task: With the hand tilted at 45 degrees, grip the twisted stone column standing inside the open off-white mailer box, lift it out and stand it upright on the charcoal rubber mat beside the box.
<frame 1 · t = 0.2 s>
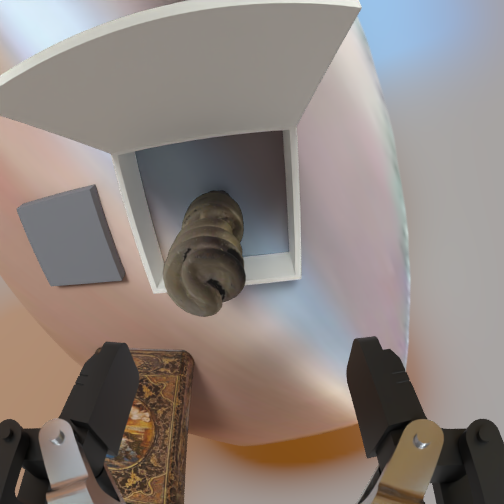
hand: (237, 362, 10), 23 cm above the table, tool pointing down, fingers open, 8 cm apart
twisted stone column: (215, 199, 31), resting in mailer
book: (145, 358, 45), on the table
mailer: (215, 199, 31), on the table
mat: (70, 238, 32), on the table
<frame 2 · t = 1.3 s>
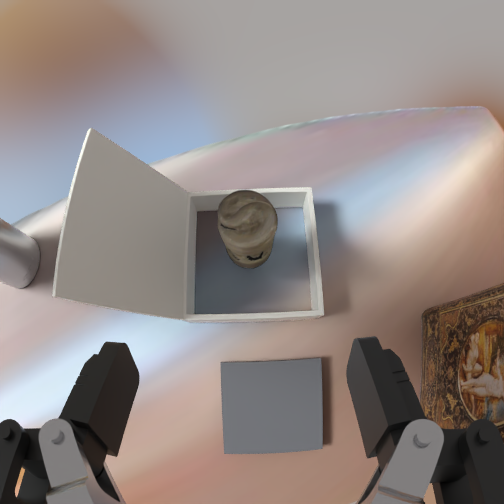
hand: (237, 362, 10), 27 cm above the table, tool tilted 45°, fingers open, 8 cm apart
twisted stone column: (251, 260, 39), resting in mailer
book: (435, 363, 34), on the table
mailer: (251, 260, 39), on the table
mat: (272, 406, 33), on the table
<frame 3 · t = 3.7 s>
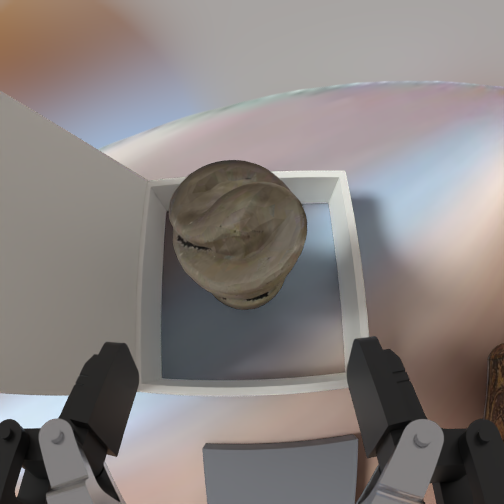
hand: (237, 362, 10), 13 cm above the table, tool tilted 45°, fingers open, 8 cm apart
twisted stone column: (249, 288, 24), resting in mailer
book: (497, 417, 19), on the table
mailer: (249, 288, 24), on the table
mat: (281, 500, 18), on the table
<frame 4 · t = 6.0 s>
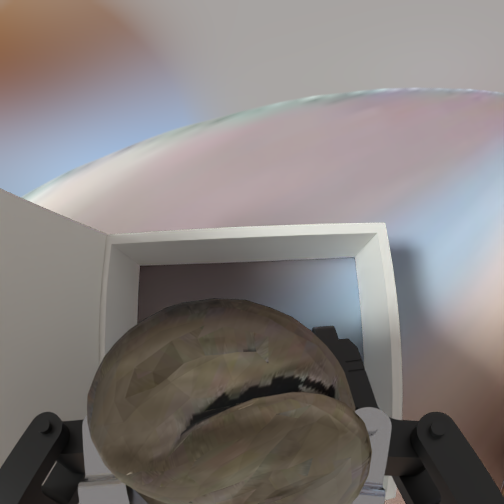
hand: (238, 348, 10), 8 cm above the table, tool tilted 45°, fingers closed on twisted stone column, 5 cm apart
twisted stone column: (249, 375, 18), resting in mailer, touching gripper
mailer: (249, 376, 17), on the table
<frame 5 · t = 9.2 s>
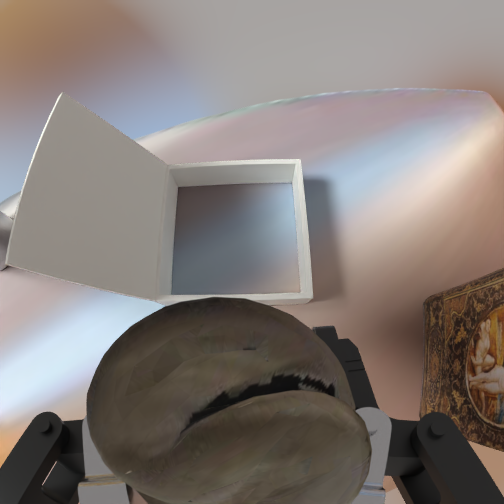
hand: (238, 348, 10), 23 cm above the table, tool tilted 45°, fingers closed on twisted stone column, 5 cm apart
twisted stone column: (249, 375, 18), point 14 cm above the table, touching gripper
book: (439, 357, 31), on the table
mailer: (234, 238, 36), on the table
when the fingers open (10 cm above the table, at t = 12.4 s): twisted stone column stays where it is, resting on mat.
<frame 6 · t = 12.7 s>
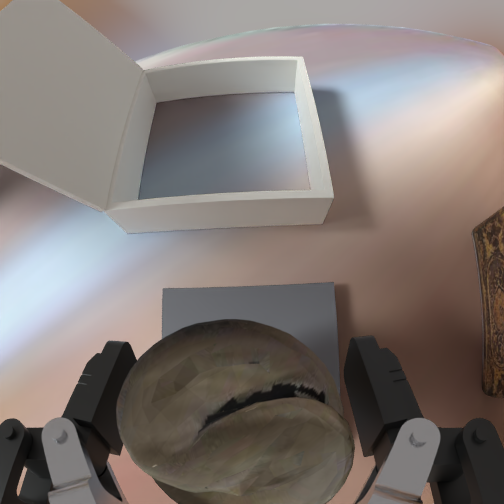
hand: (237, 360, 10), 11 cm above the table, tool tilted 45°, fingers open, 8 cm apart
twisted stone column: (252, 376, 19), point 1 cm above the table, touching mat
book: (497, 305, 21), on the table
mailer: (222, 147, 26), on the table
mat: (250, 372, 20), on the table
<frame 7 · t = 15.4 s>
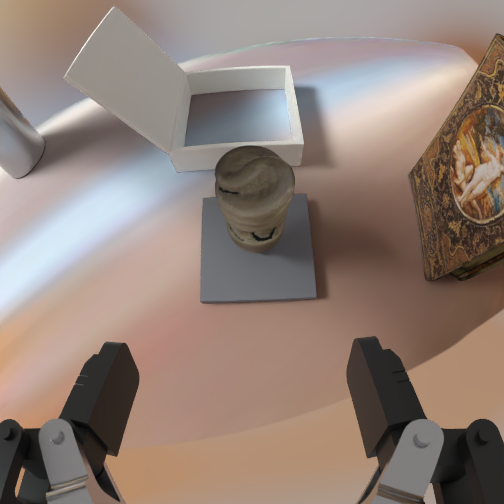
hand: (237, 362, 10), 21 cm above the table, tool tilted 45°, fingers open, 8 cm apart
twisted stone column: (257, 246, 32), point 1 cm above the table, touching mat
book: (432, 223, 34), on the table
mailer: (237, 122, 40), on the table
mat: (256, 248, 34), on the table
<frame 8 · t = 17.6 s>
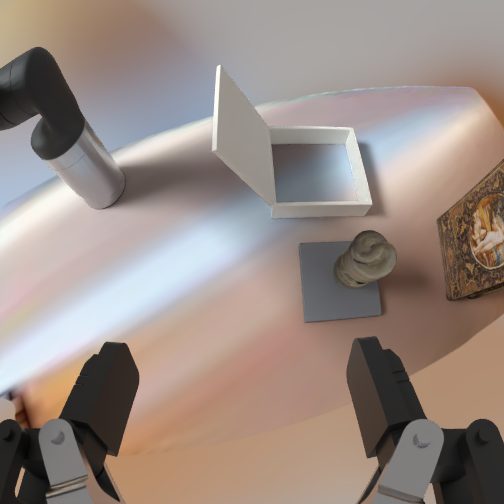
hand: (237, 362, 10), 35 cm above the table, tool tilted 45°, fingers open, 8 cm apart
twisted stone column: (342, 280, 44), point 1 cm above the table, touching mat
book: (452, 257, 46), on the table
mailer: (313, 176, 51), on the table
mat: (339, 281, 45), on the table
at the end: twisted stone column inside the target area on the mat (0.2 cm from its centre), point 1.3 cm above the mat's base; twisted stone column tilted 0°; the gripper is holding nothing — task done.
